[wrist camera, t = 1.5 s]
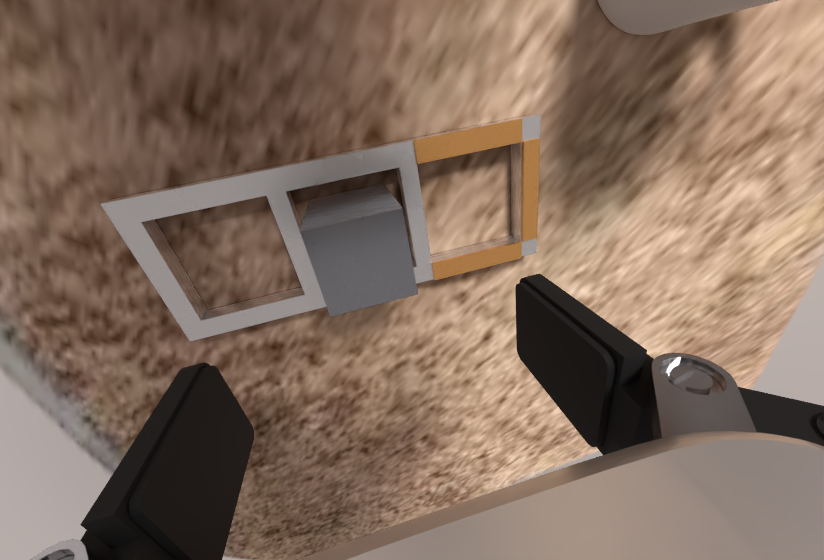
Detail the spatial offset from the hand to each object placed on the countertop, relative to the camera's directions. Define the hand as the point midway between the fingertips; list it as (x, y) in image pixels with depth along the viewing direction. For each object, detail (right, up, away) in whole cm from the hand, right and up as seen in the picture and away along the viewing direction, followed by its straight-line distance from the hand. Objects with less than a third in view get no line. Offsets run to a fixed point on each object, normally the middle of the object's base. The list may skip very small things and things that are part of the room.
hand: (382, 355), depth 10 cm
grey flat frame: (-3, +6, +10) cm, 12 cm away
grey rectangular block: (-3, +6, +10) cm, 12 cm away
